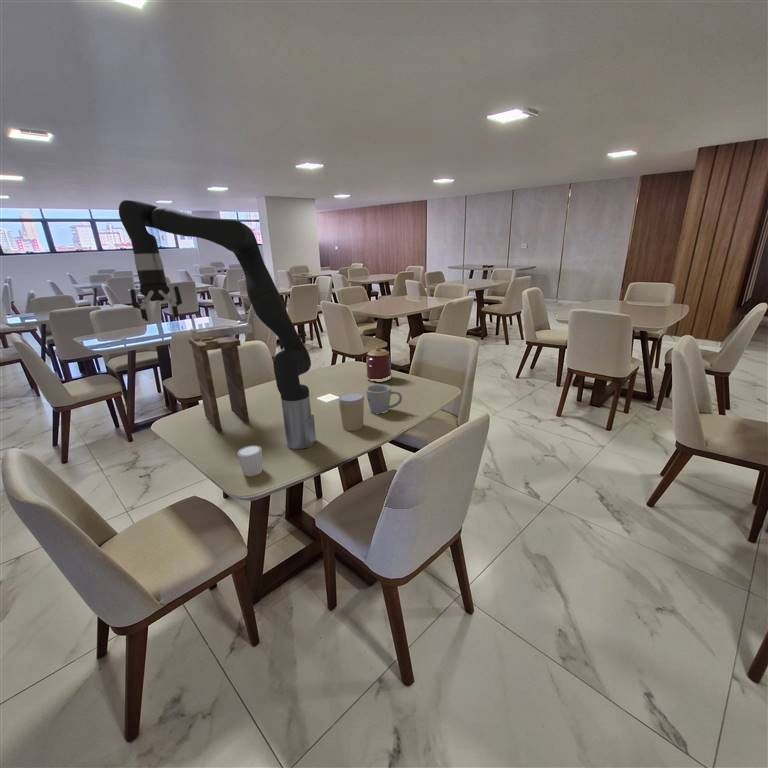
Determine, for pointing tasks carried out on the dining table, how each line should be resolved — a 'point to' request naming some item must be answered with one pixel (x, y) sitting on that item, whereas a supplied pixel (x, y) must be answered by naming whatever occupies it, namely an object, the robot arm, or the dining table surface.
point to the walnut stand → (231, 372)
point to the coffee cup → (352, 411)
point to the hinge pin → (221, 332)
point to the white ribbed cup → (250, 460)
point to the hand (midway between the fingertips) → (161, 319)
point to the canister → (378, 364)
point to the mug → (380, 398)
